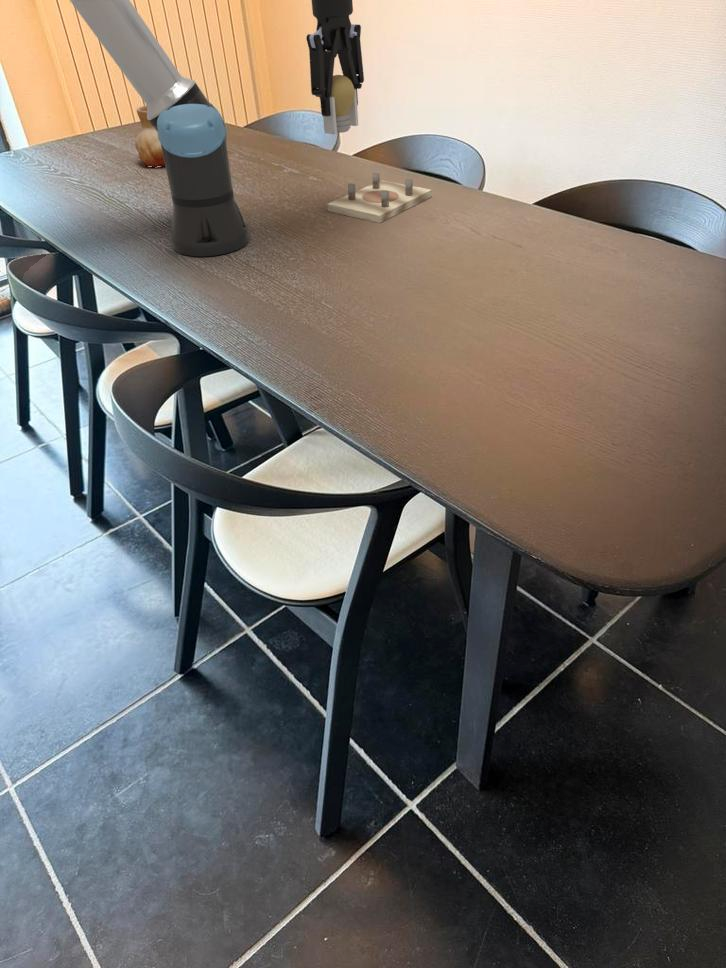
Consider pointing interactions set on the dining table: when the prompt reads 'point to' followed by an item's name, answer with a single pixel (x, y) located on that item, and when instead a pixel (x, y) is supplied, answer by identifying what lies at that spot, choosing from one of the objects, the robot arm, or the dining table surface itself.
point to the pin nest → (379, 199)
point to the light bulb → (342, 101)
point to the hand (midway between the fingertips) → (341, 128)
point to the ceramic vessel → (148, 141)
